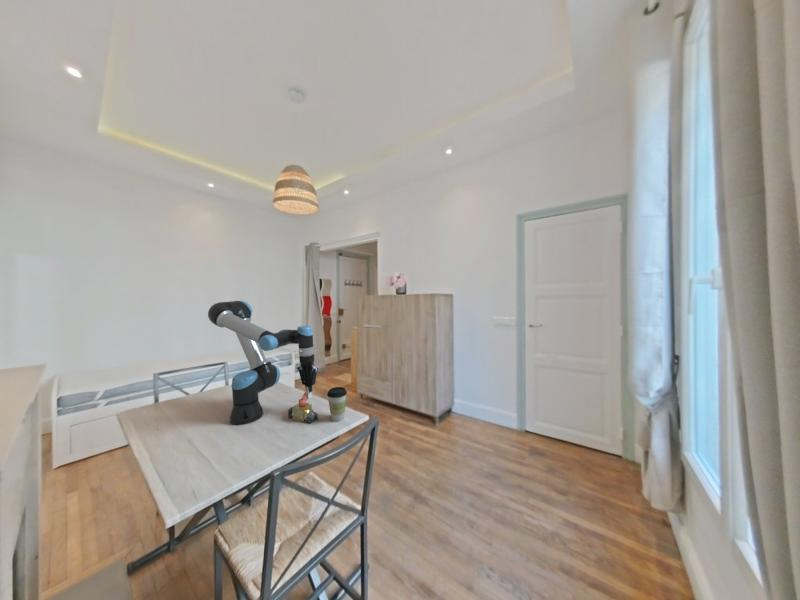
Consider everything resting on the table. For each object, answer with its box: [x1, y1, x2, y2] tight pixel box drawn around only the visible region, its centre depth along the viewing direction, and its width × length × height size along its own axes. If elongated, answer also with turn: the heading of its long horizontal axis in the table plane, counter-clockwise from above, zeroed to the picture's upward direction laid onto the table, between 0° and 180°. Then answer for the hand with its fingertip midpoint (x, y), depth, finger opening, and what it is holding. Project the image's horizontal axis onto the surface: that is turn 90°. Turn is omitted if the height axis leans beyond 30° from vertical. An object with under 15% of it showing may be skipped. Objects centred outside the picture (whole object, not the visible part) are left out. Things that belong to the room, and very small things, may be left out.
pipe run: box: [287, 402, 319, 425], centre depth 140 cm, size 16×6×8 cm, turn 65°
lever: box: [298, 391, 308, 406], centre depth 145 cm, size 14×3×3 cm, turn 6°
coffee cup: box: [326, 386, 348, 423], centre depth 139 cm, size 10×10×15 cm
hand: (309, 397), depth 147 cm, fingers closed
